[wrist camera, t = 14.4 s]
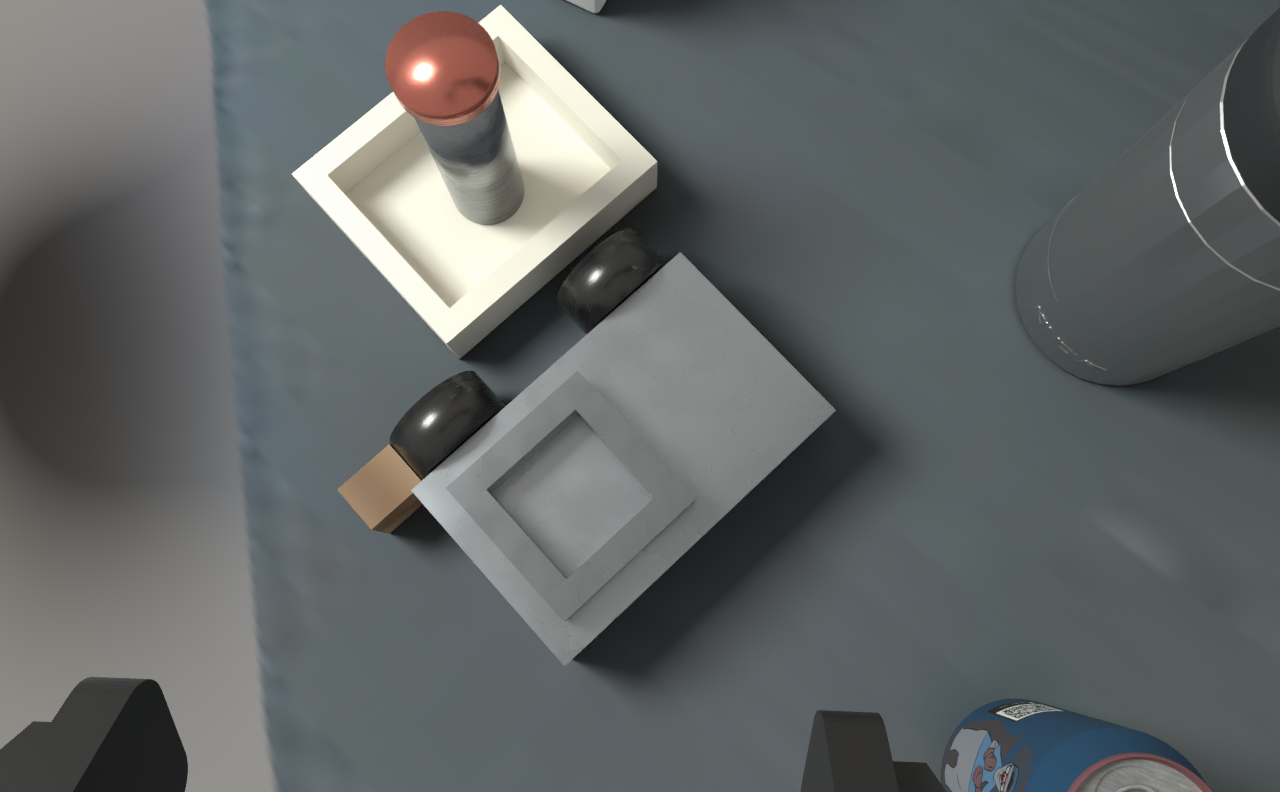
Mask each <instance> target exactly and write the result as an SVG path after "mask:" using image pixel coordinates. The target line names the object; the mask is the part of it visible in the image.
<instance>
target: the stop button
mask: <svg viewBox="0 0 1280 792" xmlns="http://www.w3.org/2000/svg"><path fill="white" fill-rule="evenodd" d="M385 68H386V74H387V78H388V81H389V83H390V86H391V88H392V90H393V92H394V94H395V96H396V98H397V100H398V101H399V103H400V104H401V106H402V107H403V108H404V109H405V110H406V111H407V112H408V113H409V114H410V115H412V116H413V117H414V118H415V120H416V122H417V124H418V127H419V129H420V131H421V133H422V135H423V137H424V139H425V142H426V144H427V146H428V148H429V150H430V152H431V154H432V157H433V159H434V161H435V163H436V165H437V167H438V169H439V172H440V174H441V176H442V178H443V180H444V182H445V184H446V187H447V189H448V191H449V193H450V195H451V197H452V199H453V202H454V204H455V206H456V208H457V209H458V211H459V212H460V213H461V214H462V215H463V216H464V217H465V218H466V219H468V220H469V221H471V222H474V223H476V224H480V225H494V224H498V223H501V222H504V221H506V220H507V219H509V218H510V217H512V216H513V215H514V214H515V213H516V212H517V210H518V209H519V207H520V206H521V204H522V201H523V198H524V183H523V179H522V176H521V172H520V168H519V165H518V161H517V157H516V153H515V150H514V146H513V142H512V139H511V135H510V131H509V127H508V124H507V120H506V116H505V113H504V109H503V105H502V102H501V98H500V94H499V90H498V88H499V85H500V79H501V71H500V64H499V60H498V56H497V53H496V49H495V45H494V43H493V41H492V39H491V37H490V35H489V34H488V32H487V31H486V30H485V29H484V28H483V27H482V26H481V25H480V24H479V23H477V22H476V21H475V20H473V19H471V18H469V17H467V16H465V15H462V14H459V13H455V12H447V11H440V12H432V13H427V14H424V15H421V16H419V17H417V18H415V19H413V20H411V21H409V22H408V23H407V24H405V25H404V26H403V27H402V28H401V29H400V30H399V31H398V32H397V33H396V34H395V36H394V37H393V39H392V41H391V43H390V45H389V47H388V50H387V54H386V60H385Z"/></svg>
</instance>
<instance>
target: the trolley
mask: <svg viewBox="0 0 1280 792" xmlns="http://www.w3.org/2000/svg"><path fill="white" fill-rule="evenodd" d="M556 300H557V303H558V305H559V306H560V307H561V308H562V309H563V310H564V311H565V312H566V313H567V314H568V315H569V316H570V317H571V318H572V319H573V321H574V322H575V323H576V324H577V325H578V326H579V327H580V328H581V329H582V330H583V331H584V332H585V333H586V334H587V335H586V336H585V337H584V338H582V339H581V340H580V341H579V342H578V343H577V344H576V345H575V346H573V347H572V348H571V349H570V350H569V351H568V352H567V353H566V354H564V355H563V356H562V357H561V358H560V359H559V360H558V361H556V362H555V363H554V364H553V365H552V366H551V367H550V368H549V369H547V370H546V371H545V372H544V373H543V374H542V375H541V376H540V377H538V378H537V379H536V380H535V381H534V382H533V383H532V384H530V385H529V386H528V387H527V388H526V389H525V390H524V391H523V392H521V393H520V394H519V395H518V396H517V397H516V398H515V399H514V400H512V401H511V402H510V403H509V404H508V405H507V406H505V404H504V403H503V402H502V401H501V400H500V399H499V398H498V397H497V396H496V395H495V394H494V392H493V391H492V390H491V389H490V388H489V387H488V386H487V385H486V384H485V383H484V381H483V380H482V379H481V378H480V377H479V376H478V375H477V374H476V373H475V372H474V371H465V372H462V373H459V374H457V375H454V376H452V377H450V378H449V379H447V380H445V381H444V382H442V383H441V384H439V385H438V386H436V387H435V388H433V389H432V390H431V391H429V392H428V393H427V394H426V395H425V396H423V397H422V398H421V399H420V400H419V401H418V402H417V403H415V404H414V405H413V406H412V407H411V408H410V409H409V411H408V412H407V413H406V414H405V415H404V416H403V417H402V418H401V420H400V421H399V422H398V424H397V425H396V427H395V428H394V430H393V432H392V434H391V436H390V444H391V446H392V447H393V448H394V449H395V450H396V451H397V452H398V453H399V455H400V456H401V457H402V458H403V459H404V460H405V461H406V463H407V464H408V465H409V466H410V467H411V468H412V469H413V471H414V472H415V473H416V474H417V475H418V476H419V477H420V479H421V480H422V481H421V482H420V483H419V484H417V485H416V486H415V487H414V488H413V489H412V490H411V491H412V492H413V493H414V494H415V496H416V497H417V498H418V499H419V500H420V501H421V502H422V504H423V505H424V506H425V507H426V508H427V509H428V510H429V512H430V513H431V514H432V515H433V516H434V517H435V518H436V520H437V521H438V522H439V523H440V524H441V525H442V526H443V528H444V529H445V530H446V531H447V532H448V533H449V534H450V536H451V537H452V538H453V539H454V540H455V541H456V542H457V544H458V545H459V546H460V547H461V548H462V549H463V551H464V552H465V553H466V554H467V555H468V556H469V557H470V559H471V560H472V561H473V562H474V563H475V564H476V565H477V567H478V568H479V569H480V570H481V571H482V572H483V573H484V575H485V576H486V577H487V578H488V579H489V580H490V581H491V583H492V584H493V585H494V586H495V587H496V588H497V589H498V591H499V592H500V593H501V594H502V595H503V596H504V597H505V599H506V600H507V601H508V602H509V603H510V604H511V605H512V607H513V608H514V609H515V610H516V611H517V612H518V613H519V615H520V616H521V617H522V618H523V619H524V620H525V621H526V623H527V624H528V625H529V626H530V627H531V628H532V629H533V631H534V632H535V633H536V634H537V635H538V636H539V637H540V639H541V640H542V641H543V642H544V643H545V644H546V646H547V647H548V648H549V649H550V650H551V651H552V652H553V654H554V655H555V656H556V657H557V658H558V659H559V660H560V662H561V663H562V664H563V665H564V666H566V665H567V664H568V663H569V662H570V661H571V660H572V659H573V658H574V657H575V656H577V655H578V654H579V653H580V652H581V651H582V650H583V649H584V648H585V647H586V646H587V645H588V644H589V643H590V642H591V641H592V640H593V639H595V638H596V637H597V636H598V635H599V634H600V633H601V632H602V631H603V630H604V629H605V628H606V627H607V626H608V625H609V624H610V623H611V622H613V621H614V620H615V619H616V618H617V617H618V616H619V615H620V614H621V613H622V612H623V611H624V610H625V609H626V608H627V607H628V606H630V605H631V604H632V603H633V602H634V601H635V600H636V599H637V598H638V597H639V596H640V595H641V594H642V593H643V592H644V591H645V590H646V589H648V588H649V587H650V586H651V585H652V584H653V583H654V582H655V581H656V580H657V579H658V578H659V577H660V576H661V575H662V574H663V573H664V572H666V571H667V570H668V569H669V568H670V567H671V566H672V565H673V564H674V563H675V562H676V561H677V560H678V559H679V558H680V557H681V556H682V555H684V554H685V553H686V552H687V551H688V550H689V549H690V548H691V547H692V546H693V545H694V544H695V543H696V542H697V541H698V540H699V539H701V538H702V537H703V536H704V535H705V534H706V533H707V532H708V531H709V530H710V529H711V528H712V527H713V526H714V525H715V524H716V523H717V522H719V521H720V520H721V519H722V518H723V517H724V516H725V515H726V514H727V513H728V512H729V511H730V510H731V509H732V508H733V507H734V506H735V505H737V504H738V503H739V502H740V501H741V500H742V499H743V498H744V497H745V496H746V495H747V494H748V493H749V492H750V491H751V490H752V489H754V488H755V487H756V486H757V485H758V484H759V483H760V482H761V481H762V480H763V479H764V478H765V477H766V476H767V475H768V474H769V473H770V472H772V471H773V470H774V469H775V468H776V467H777V466H778V465H779V464H780V463H781V462H782V461H783V460H784V459H785V458H786V457H787V456H788V455H790V454H791V453H792V452H793V451H794V450H795V449H796V448H797V447H798V446H799V445H800V444H801V443H802V442H803V441H804V440H805V439H807V438H808V437H809V436H810V435H811V434H812V433H813V432H814V431H815V430H816V429H817V428H818V427H819V426H820V425H821V424H822V423H823V422H824V421H825V420H827V419H828V418H829V417H830V416H831V415H832V414H833V413H834V412H835V411H836V410H835V409H834V408H833V407H832V405H831V404H830V403H829V402H828V401H827V400H826V399H825V398H824V397H823V396H822V395H821V394H820V393H819V392H818V391H817V390H816V389H815V388H814V387H813V386H812V385H811V384H810V383H809V382H808V381H807V380H806V379H805V378H804V377H803V376H802V375H801V374H800V373H799V372H798V371H797V370H796V369H795V368H794V367H793V366H792V365H791V364H790V363H789V362H788V361H787V360H786V359H785V358H784V357H783V356H782V355H781V354H780V353H779V352H778V351H777V350H776V349H775V348H774V347H773V346H772V345H771V344H770V343H769V342H768V341H767V340H766V339H765V338H764V336H763V335H762V334H761V333H760V332H759V331H758V330H757V329H756V328H755V327H754V326H753V325H752V324H751V323H750V322H749V321H748V320H747V319H746V318H745V317H744V316H743V315H742V314H741V313H740V312H739V311H738V310H737V309H736V308H735V307H734V306H733V305H732V304H731V303H730V302H729V301H728V300H727V299H726V298H725V297H724V296H723V295H722V294H721V293H720V292H719V291H718V290H717V289H716V288H715V287H714V286H713V285H712V284H711V283H710V282H709V281H708V280H707V279H706V278H705V277H704V276H703V275H702V274H701V273H700V272H699V271H698V270H697V268H696V267H695V266H694V265H693V264H692V263H691V262H690V261H689V260H688V259H687V258H686V257H685V256H684V255H683V254H682V253H681V252H680V253H679V254H677V255H676V256H675V257H674V258H673V259H672V260H671V261H669V262H668V263H666V262H665V261H664V260H663V259H662V258H661V256H660V255H659V254H658V253H657V252H656V251H655V250H654V249H653V248H652V247H651V246H650V245H649V244H648V243H647V242H646V241H645V240H644V239H643V238H642V237H641V236H640V235H639V234H638V233H637V232H636V231H635V230H634V229H633V228H626V229H622V230H620V231H618V232H616V233H614V234H612V235H611V236H609V237H608V238H606V239H605V240H603V241H602V242H601V243H599V244H598V245H597V246H596V247H595V248H593V249H592V250H591V251H590V252H589V253H588V254H587V255H586V256H585V257H584V258H583V259H582V260H581V261H580V262H579V263H578V264H577V265H576V266H575V268H574V269H573V270H572V271H571V272H570V274H569V275H568V276H567V278H566V279H565V281H564V282H563V284H562V286H561V287H560V289H559V292H558V294H557V299H556Z"/></svg>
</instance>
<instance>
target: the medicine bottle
mask: <svg viewBox="0 0 1280 792" xmlns="http://www.w3.org/2000/svg"><path fill="white" fill-rule="evenodd" d="M566 1H568V2H570V3H572V4H574V5H576V6H579V7H581V8H583V9H585V10H587V11H589V12H592V13H599V12H600V11H601V9H602V7H603V6H604V4H605V2H606V0H566Z"/></svg>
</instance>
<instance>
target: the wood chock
mask: <svg viewBox="0 0 1280 792" xmlns="http://www.w3.org/2000/svg"><path fill="white" fill-rule="evenodd" d="M421 481H422V480H421V479H420V477H419V476H418V475H417V474H416V473H415V472H414V471H413V469H412V468H411V467H410V466H409V465H408V464H407V463H406V461H405V460H404V459H403V458H402V457H401V456H400V455H399V453H398V452H397V451H396V450H395V449H394V448H393V447H392V446H391V445H390V444H389V445H388V446H386V447H385V448H384V449H383V450H382V451H381V452H380V453H378V454H377V455H376V456H375V457H374V458H373V459H372V460H370V461H369V462H368V463H367V464H366V465H365V466H364V467H362V468H361V469H360V470H359V471H358V472H357V473H356V474H354V475H353V476H352V477H351V478H350V479H349V480H348V481H346V482H345V483H344V484H343V485H342V486H341V487H340V488H338V489H337V490H338V491H339V492H340V493H341V495H342V496H343V497H344V498H345V499H346V500H347V502H348V503H349V504H350V505H351V506H352V507H353V509H354V510H355V511H356V512H357V513H358V514H359V516H360V517H361V518H362V519H363V520H364V521H365V523H366V524H367V525H368V526H369V527H370V528H371V530H376V531H380V532H384V533H389V534H390V533H391V532H392V531H393V530H394V529H395V528H397V527H398V526H399V525H400V524H401V523H402V522H403V521H404V520H406V519H407V518H408V517H409V516H410V515H411V514H412V513H413V512H415V511H416V510H417V509H418V508H419V507H420V506H421V505H422V502H421V501H420V500H419V499H418V498H417V497H416V496H415V494H414V493H413V492H412V491H411V490H412V489H413V488H414V487H415V486H416V485H417V484H419V483H420V482H421Z"/></svg>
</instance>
